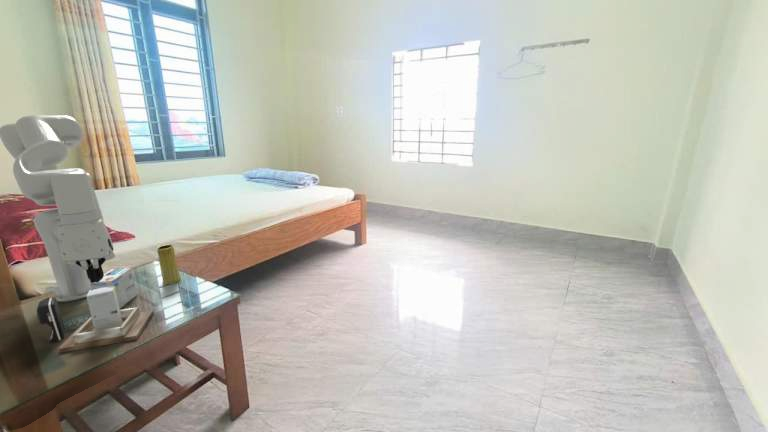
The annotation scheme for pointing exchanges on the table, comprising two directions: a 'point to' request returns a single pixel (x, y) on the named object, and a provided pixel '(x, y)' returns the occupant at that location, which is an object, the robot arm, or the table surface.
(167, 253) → the vase
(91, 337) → the holder
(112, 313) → the skincare box
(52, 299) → the black hard case
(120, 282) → the light bulb box
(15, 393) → the table surface
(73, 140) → the robot arm
